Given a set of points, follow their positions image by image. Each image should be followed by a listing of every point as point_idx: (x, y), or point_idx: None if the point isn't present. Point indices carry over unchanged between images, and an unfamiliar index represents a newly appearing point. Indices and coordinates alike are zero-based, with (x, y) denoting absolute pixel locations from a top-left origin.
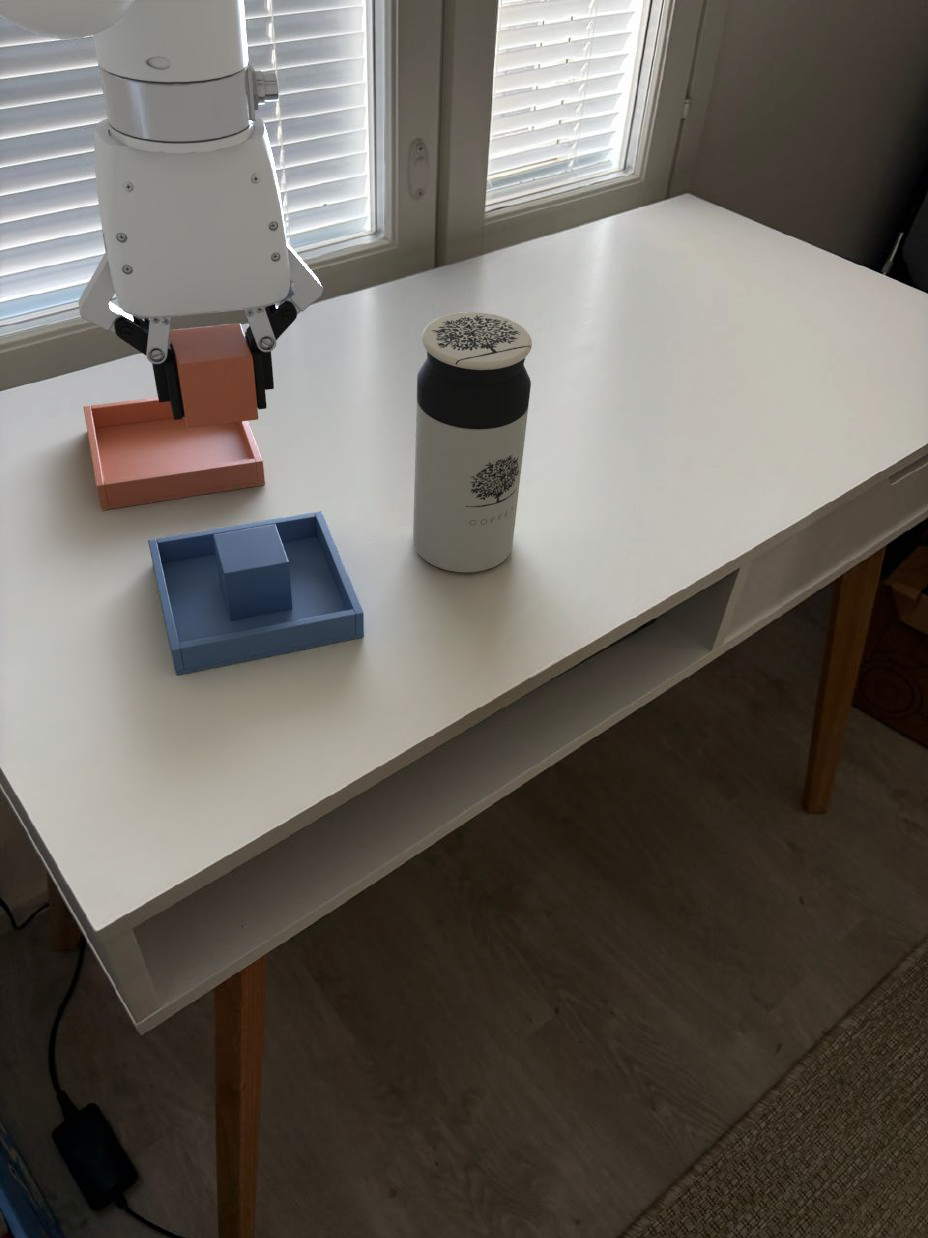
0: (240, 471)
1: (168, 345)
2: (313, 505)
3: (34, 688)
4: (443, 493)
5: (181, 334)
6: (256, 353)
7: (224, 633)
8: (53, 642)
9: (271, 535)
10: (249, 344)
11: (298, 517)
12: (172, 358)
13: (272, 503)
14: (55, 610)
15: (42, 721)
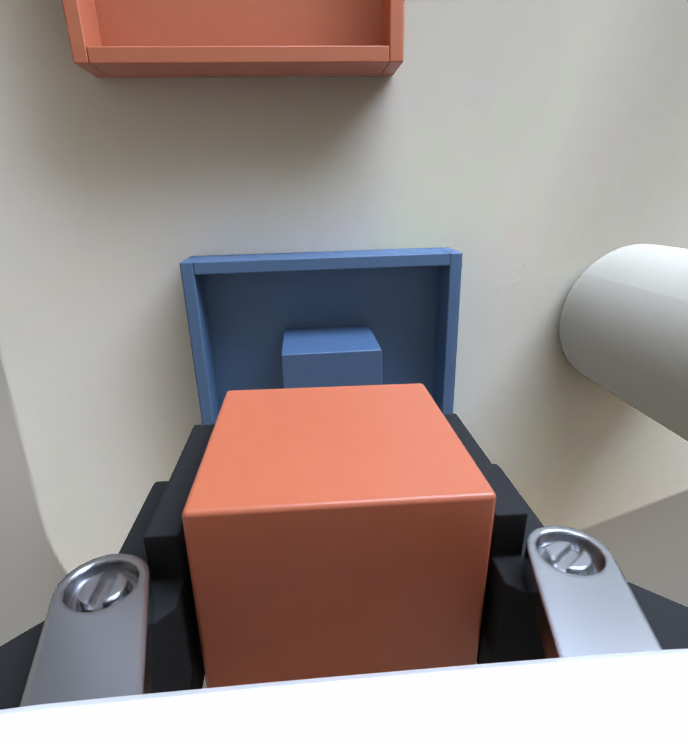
0: (355, 67)
1: (178, 674)
2: (456, 163)
3: (53, 453)
4: (657, 419)
5: (236, 557)
6: (490, 653)
7: None
8: (63, 385)
9: (370, 377)
10: (485, 598)
11: (423, 262)
12: (197, 640)
13: (393, 138)
14: (55, 325)
15: (71, 500)
